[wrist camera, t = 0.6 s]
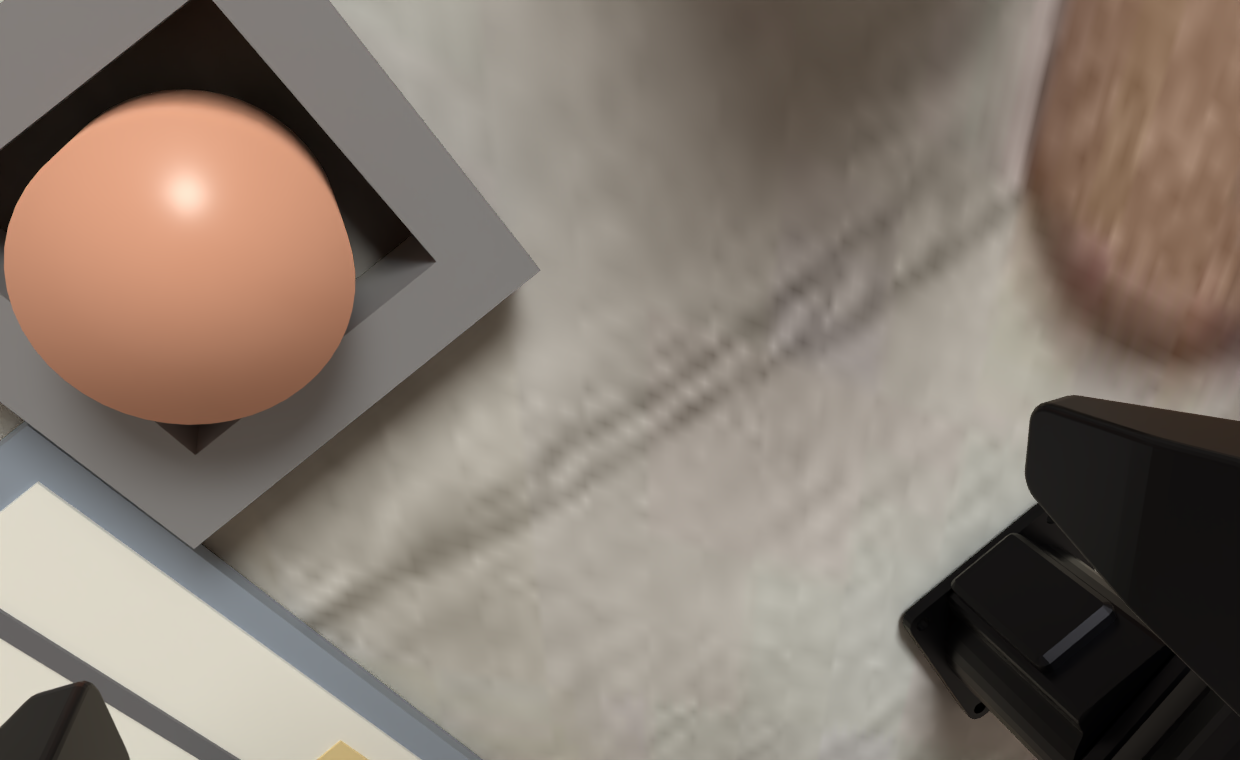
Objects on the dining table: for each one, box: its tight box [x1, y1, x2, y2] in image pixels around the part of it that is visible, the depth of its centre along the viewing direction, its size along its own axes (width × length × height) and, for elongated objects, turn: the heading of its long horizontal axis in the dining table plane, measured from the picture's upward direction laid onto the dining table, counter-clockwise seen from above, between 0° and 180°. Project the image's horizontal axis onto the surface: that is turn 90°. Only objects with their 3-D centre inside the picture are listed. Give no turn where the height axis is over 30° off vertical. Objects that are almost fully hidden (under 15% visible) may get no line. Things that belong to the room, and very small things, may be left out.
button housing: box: [0, 0, 540, 549], centre depth 18 cm, size 9×9×2 cm
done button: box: [4, 89, 355, 425], centre depth 16 cm, size 5×5×4 cm
